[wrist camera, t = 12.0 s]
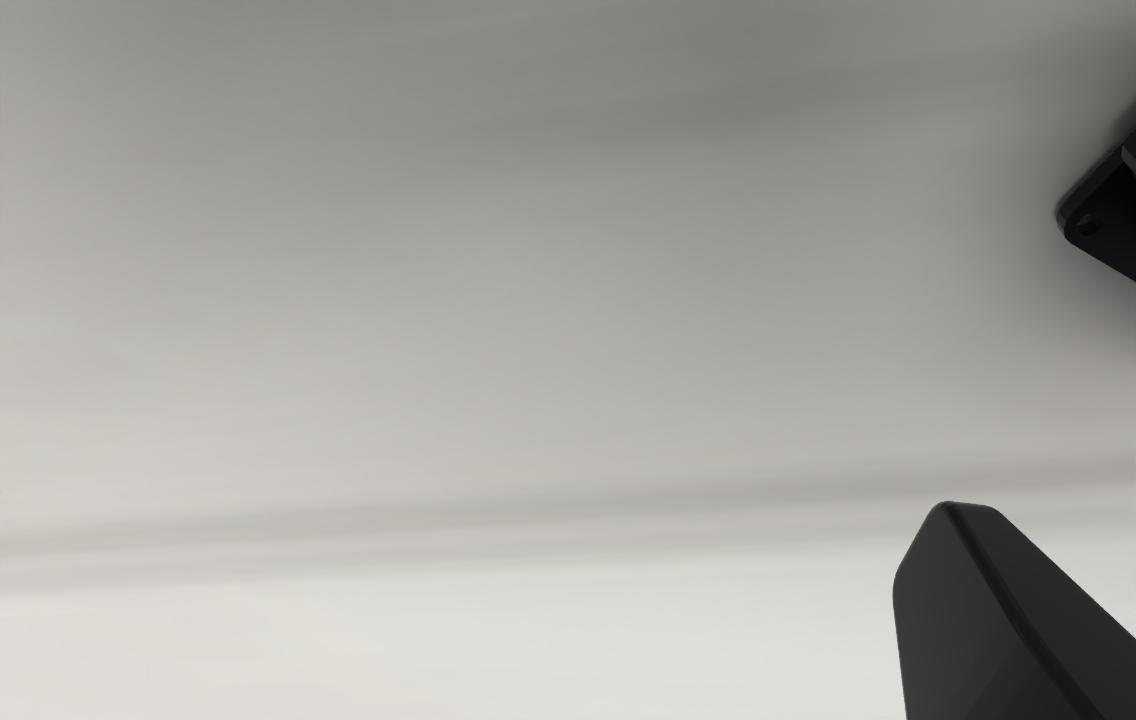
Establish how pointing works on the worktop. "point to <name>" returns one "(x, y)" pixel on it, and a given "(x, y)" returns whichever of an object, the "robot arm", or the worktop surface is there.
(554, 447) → the worktop surface
